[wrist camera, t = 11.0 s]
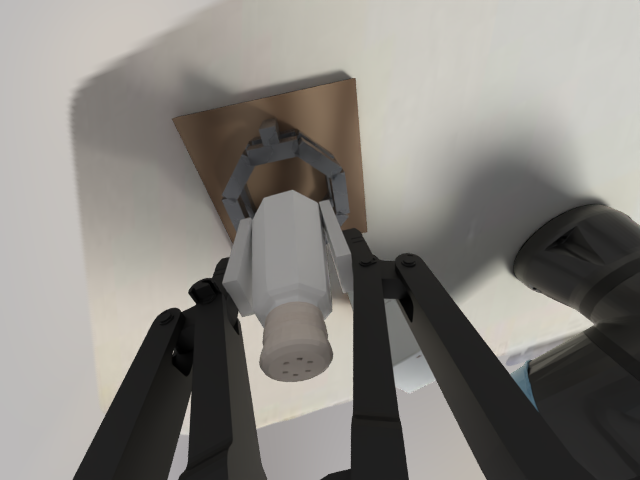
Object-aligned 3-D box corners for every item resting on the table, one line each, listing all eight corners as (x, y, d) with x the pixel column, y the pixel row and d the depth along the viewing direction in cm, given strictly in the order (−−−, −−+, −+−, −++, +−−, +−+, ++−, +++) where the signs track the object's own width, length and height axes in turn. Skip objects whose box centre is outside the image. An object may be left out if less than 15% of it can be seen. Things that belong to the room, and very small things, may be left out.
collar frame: (326, 106, 21) (337, 112, 17) (343, 226, 28) (354, 250, 24) (212, 131, 21) (195, 143, 17) (259, 245, 28) (255, 273, 24)
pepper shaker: (252, 184, 16) (214, 321, 7) (330, 192, 17) (386, 319, 8) (251, 249, 19) (224, 406, 10) (318, 252, 20) (349, 396, 11)
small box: (345, 289, 36) (372, 377, 25) (378, 265, 34) (423, 349, 23) (374, 311, 40) (409, 395, 29) (406, 290, 38) (455, 372, 27)
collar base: (352, 78, 21) (355, 78, 20) (364, 227, 30) (367, 231, 29) (176, 117, 21) (171, 118, 20) (242, 255, 30) (241, 260, 29)
